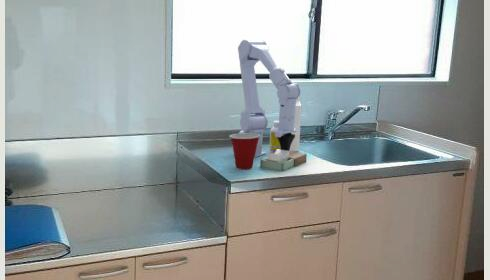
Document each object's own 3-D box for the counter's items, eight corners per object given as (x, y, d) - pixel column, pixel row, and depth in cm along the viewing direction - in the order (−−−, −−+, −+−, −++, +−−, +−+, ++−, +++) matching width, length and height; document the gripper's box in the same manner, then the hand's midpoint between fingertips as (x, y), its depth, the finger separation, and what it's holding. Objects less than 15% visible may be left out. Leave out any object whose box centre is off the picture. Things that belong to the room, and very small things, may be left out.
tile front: (272, 159, 194) (270, 165, 193) (268, 152, 191) (266, 158, 190) (283, 161, 192) (281, 167, 191) (280, 154, 189) (277, 160, 188)
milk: (298, 151, 220) (302, 98, 216) (284, 152, 218) (288, 97, 214) (293, 148, 226) (297, 96, 221) (279, 148, 224) (283, 95, 220)
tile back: (273, 161, 195) (272, 156, 193) (278, 154, 198) (277, 149, 196) (284, 163, 193) (283, 158, 191) (289, 156, 196) (288, 150, 194)
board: (270, 162, 199) (270, 154, 199) (282, 157, 208) (282, 150, 207) (294, 166, 194) (295, 158, 194) (306, 161, 203) (306, 153, 202)
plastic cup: (238, 162, 197) (239, 130, 195) (264, 167, 192) (265, 134, 190) (222, 168, 188) (223, 134, 186) (248, 173, 183) (250, 138, 180)
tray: (259, 167, 191) (260, 159, 191) (271, 162, 199) (271, 155, 198) (282, 171, 187) (283, 163, 186) (293, 166, 195) (294, 158, 194)
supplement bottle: (286, 155, 212) (288, 123, 210) (269, 154, 212) (271, 122, 210) (285, 151, 219) (287, 120, 216) (269, 151, 219) (270, 119, 216)
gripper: (288, 120, 187) (286, 158, 189) (305, 116, 199) (303, 151, 202) (270, 118, 190) (268, 155, 193) (288, 113, 202) (286, 149, 205)
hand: (284, 153), depth 197 cm, fingers closed
